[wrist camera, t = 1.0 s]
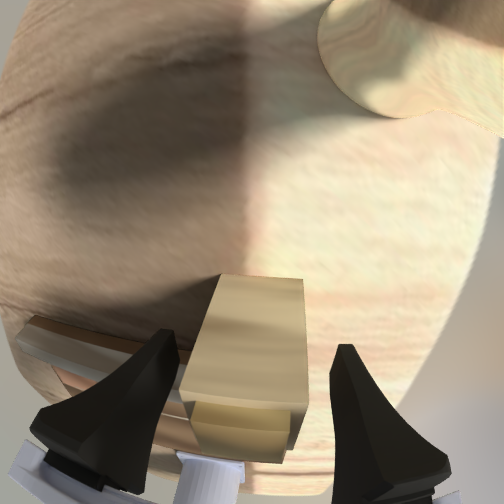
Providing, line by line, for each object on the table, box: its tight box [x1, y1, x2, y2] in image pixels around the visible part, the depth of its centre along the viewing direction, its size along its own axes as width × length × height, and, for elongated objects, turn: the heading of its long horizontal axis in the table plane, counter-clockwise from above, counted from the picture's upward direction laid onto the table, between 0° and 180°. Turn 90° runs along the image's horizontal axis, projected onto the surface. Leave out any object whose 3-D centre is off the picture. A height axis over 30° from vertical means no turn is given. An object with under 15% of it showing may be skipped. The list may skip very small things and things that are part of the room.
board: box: [15, 315, 286, 464], centre depth 20 cm, size 16×22×3 cm
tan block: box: [179, 274, 309, 462], centre depth 11 cm, size 4×4×8 cm
